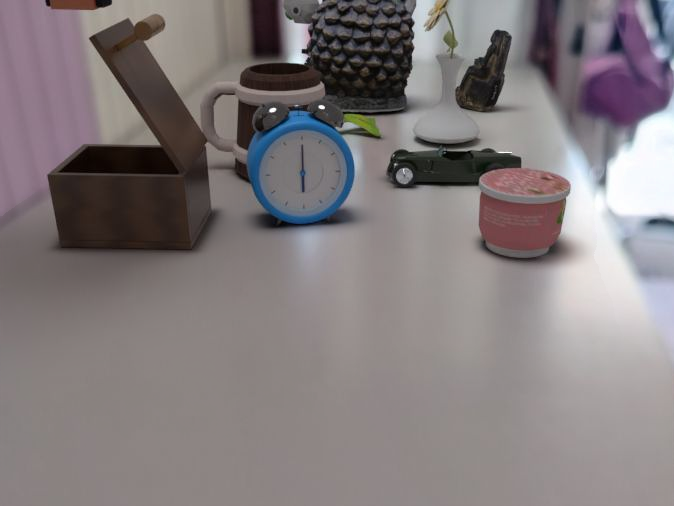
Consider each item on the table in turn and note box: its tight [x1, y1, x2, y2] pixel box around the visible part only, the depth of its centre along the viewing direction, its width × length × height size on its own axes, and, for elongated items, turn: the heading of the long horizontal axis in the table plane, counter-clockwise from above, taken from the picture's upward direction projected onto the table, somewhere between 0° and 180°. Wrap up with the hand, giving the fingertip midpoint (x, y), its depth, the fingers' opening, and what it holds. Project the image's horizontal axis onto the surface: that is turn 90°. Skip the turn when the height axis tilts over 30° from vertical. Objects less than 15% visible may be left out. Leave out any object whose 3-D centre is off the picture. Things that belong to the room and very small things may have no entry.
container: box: [478, 167, 572, 259], centre depth 95 cm, size 10×10×8 cm
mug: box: [199, 62, 325, 181], centre depth 118 cm, size 20×15×15 cm
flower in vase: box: [412, 0, 481, 145], centre depth 130 cm, size 13×11×25 cm
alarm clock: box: [247, 99, 356, 226], centre depth 101 cm, size 13×6×15 cm, turn 102°
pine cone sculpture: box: [306, 0, 417, 113], centre depth 151 cm, size 21×15×25 cm
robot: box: [282, 0, 320, 67], centre depth 179 cm, size 12×15×30 cm
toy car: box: [385, 144, 522, 188], centre depth 117 cm, size 9×20×5 cm, turn 90°
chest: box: [46, 143, 213, 250], centre depth 99 cm, size 16×13×9 cm
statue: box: [455, 28, 513, 112], centre depth 154 cm, size 6×12×15 cm, turn 46°
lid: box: [88, 13, 209, 174], centre depth 92 cm, size 17×13×5 cm
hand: (79, 3), depth 81 cm, fingers closed on block, 4 cm apart
